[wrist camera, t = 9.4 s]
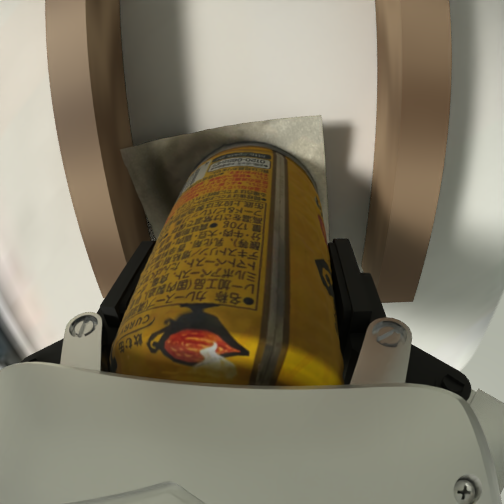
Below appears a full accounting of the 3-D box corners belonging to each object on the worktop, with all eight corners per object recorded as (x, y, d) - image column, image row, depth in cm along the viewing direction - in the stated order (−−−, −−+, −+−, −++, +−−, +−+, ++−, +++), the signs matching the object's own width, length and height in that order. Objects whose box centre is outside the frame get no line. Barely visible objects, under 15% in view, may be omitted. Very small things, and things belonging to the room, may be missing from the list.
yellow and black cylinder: (329, 257, 16) (349, 516, 7) (170, 269, 18) (103, 490, 8) (320, 113, 11) (414, 485, 2) (121, 146, 13) (-58, 396, 4)
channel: (84, -53, 8) (49, -66, 6) (406, -77, 7) (431, -99, 4) (124, 264, 18) (102, 297, 15) (396, 265, 16) (412, 301, 14)
